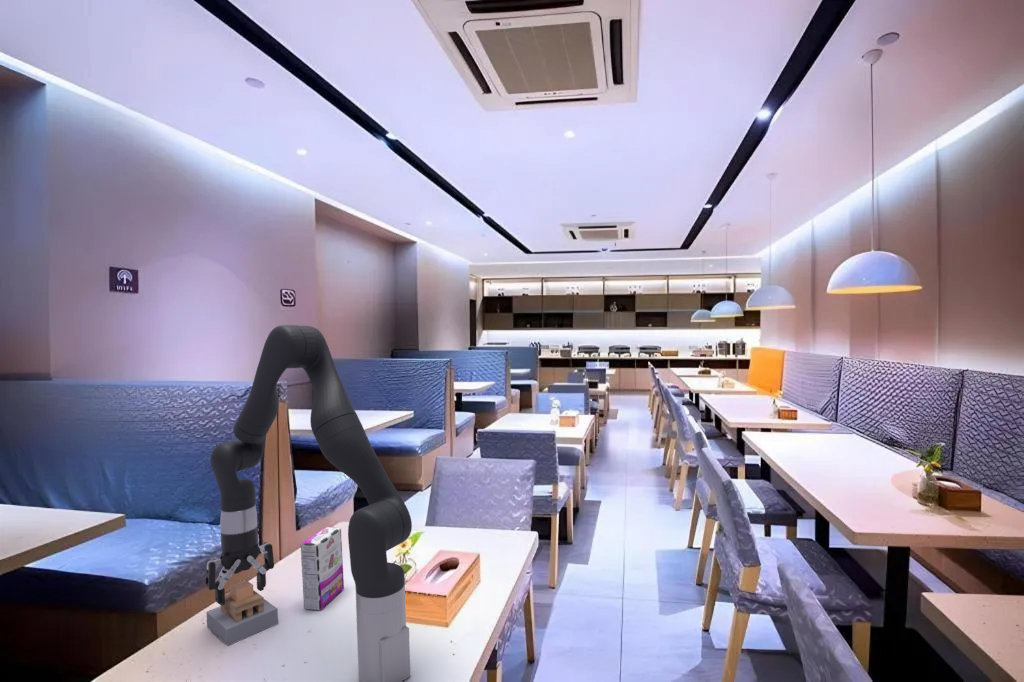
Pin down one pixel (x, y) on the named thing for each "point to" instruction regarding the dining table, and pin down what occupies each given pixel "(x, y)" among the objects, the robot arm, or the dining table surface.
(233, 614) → the pallet
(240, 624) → the dock
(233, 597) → the block
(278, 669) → the dining table surface
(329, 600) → the candy bar box
